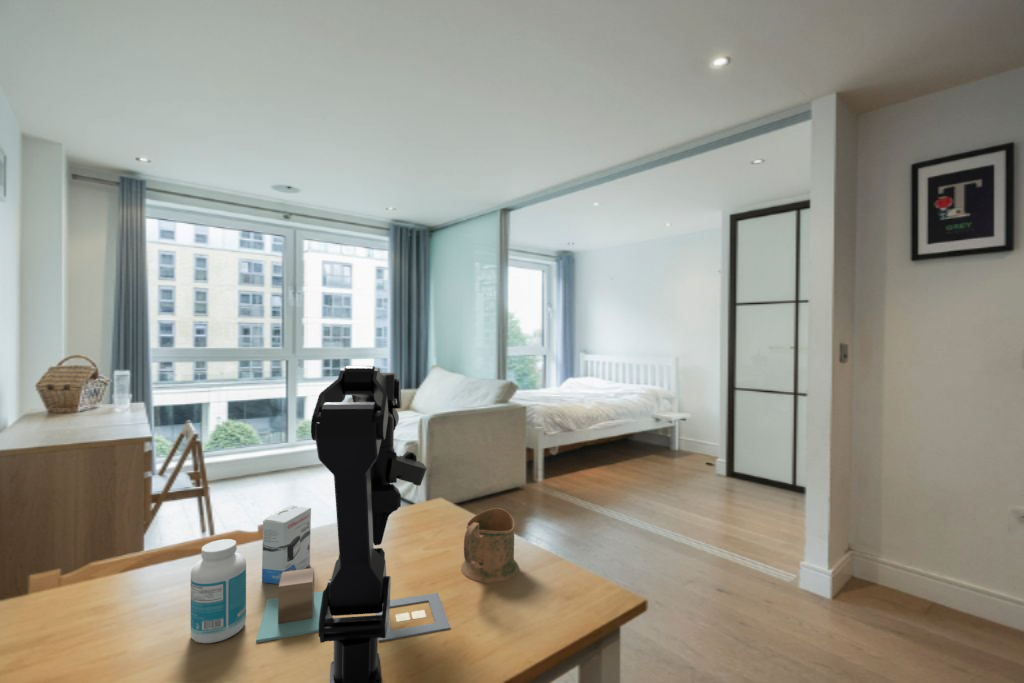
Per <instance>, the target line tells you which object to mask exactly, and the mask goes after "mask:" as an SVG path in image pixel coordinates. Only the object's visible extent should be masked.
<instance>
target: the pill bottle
mask: <svg viewBox="0 0 1024 683" xmlns="http://www.w3.org/2000/svg"><path fill="white" fill-rule="evenodd" d="M237 545H238V544H237V540H234V539H231V538H226V539H223V538H222V539H218V540H217V539H216V540H213V541H210V542H207V543H206V544H204V545H203V546H202V547H201V552H200V553H201V555H200V556H201V558H202V559H200V560H199V561H197V562H196V563H195V564H194V565H193V566H192V568H191V572H190V637H191V638H192V640H193V641H194V642H196V643H199V644H213V643H214V644H215V643H219V642H222V641H225V640H227V639H229V638H231V637H232V636H235V635H237V634H238V633H239V632H240V631H241V630H242V629H243V627H244V626H245V624H246V621H247V560H246V558H245V556H244V555H243V554H241V553H239V552H237V549H238V548H237Z"/></svg>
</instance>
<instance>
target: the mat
mask: <svg viewBox="0 0 1024 683" xmlns="http://www.w3.org/2000/svg"><path fill="white" fill-rule="evenodd" d="M323 591H324V590H321V591H320V590H319V591H314V605H313V614H312V619H307V620H301V621H295V622H288V623H282V624H278V597H273V598H267V601H266V604H265V608H264V612H263V615H262V618H261V621H260V622H261V623H260V625H259V629H258V633H257V636H256V638H255V644H256V643H263V642H267V641H274V640H279V639H284V638H289V637H297V636H302V635H308V634H313V633H319V616H320V609H321V602H322V595H323Z"/></svg>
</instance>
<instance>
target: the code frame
mask: <svg viewBox="0 0 1024 683" xmlns="http://www.w3.org/2000/svg"><path fill="white" fill-rule="evenodd" d="M440 598H441V597H440V596H439V593H438V592H435V593H427V594H421V595H416V596H415V595H414V596H408V597H403V598H396V599H390V609H392V608H398V607H403V606H410V605H411V606H412V605H416V604H422V603H428V604H429V608H430V611H431V615H432V617H433V620H434V622H431V623H427V624H425V623H424V624H420V625H419V624H418V625H414V626H408V627H403V628H398V629H392V628H391V621H390V619H389V622H388V627H387V633H386V638H378V643H382V642H387V641H391V640H399V639H403V638H408V637H409V638H410V637H414V636H419V635H424V634H426V635H427V634H431V633H436V632H441V631H447V630H451V626H450V623H449V619H448V617H447V615H446V612H445V609H444V607H443V603H442V601H441V599H440ZM382 612H383V611H382ZM382 612H381V613H375V615H382ZM410 613H411V615H410ZM394 615H395V619H396V620H395V621H396V623H400V622H401V623H402V622H407V621H410V620H411V617H412V620H417V619H424V618H427V615H426V611H425V609H420V610H414V611H411V612H403V613H402V612H401V613H396V614H394ZM410 616H411V617H410Z"/></svg>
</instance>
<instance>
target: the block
mask: <svg viewBox="0 0 1024 683" xmlns="http://www.w3.org/2000/svg"><path fill="white" fill-rule="evenodd" d="M314 592H315V567H310V568H305V569H302V570H294V571H286V572H282V575H281V579H280V583H279V584H278V591H277V593H278V597H277V598H278V624H282V623H288V622H295V621H301V620H307V619H312V614H313V605H314Z"/></svg>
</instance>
